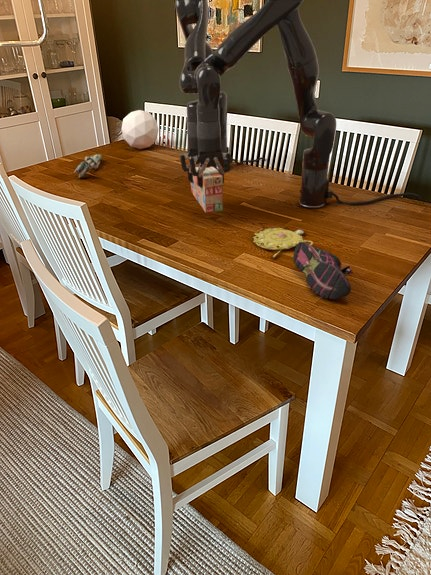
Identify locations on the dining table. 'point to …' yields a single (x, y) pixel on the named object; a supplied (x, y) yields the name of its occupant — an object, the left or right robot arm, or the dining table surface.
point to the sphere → (139, 129)
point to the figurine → (88, 164)
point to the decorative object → (279, 239)
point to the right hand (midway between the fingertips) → (210, 185)
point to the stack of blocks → (209, 190)
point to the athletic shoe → (322, 271)
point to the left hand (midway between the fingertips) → (200, 180)
